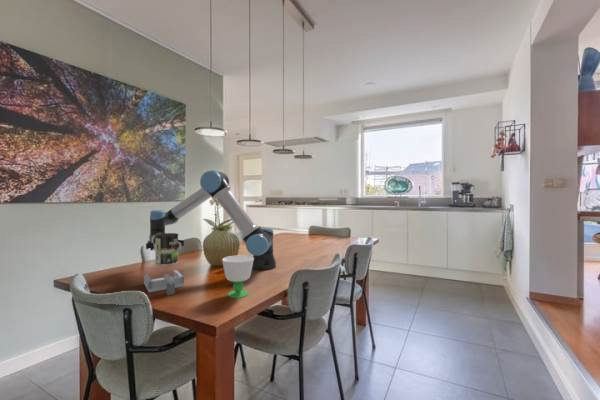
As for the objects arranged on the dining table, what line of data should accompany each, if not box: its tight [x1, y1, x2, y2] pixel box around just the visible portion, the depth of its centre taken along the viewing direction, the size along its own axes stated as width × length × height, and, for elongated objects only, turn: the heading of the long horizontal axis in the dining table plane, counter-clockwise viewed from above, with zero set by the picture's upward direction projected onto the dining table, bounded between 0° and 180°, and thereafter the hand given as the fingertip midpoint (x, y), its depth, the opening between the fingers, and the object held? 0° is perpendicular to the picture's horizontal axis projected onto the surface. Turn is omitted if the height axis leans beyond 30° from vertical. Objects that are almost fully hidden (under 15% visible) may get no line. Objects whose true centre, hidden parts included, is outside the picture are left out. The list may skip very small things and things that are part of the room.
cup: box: [221, 254, 254, 299], centre depth 129 cm, size 14×14×16 cm
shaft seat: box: [143, 269, 185, 296], centre depth 138 cm, size 24×15×7 cm, turn 35°
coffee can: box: [154, 232, 179, 267], centre depth 143 cm, size 10×10×14 cm
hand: (168, 247), depth 140 cm, fingers closed on coffee can, 10 cm apart
